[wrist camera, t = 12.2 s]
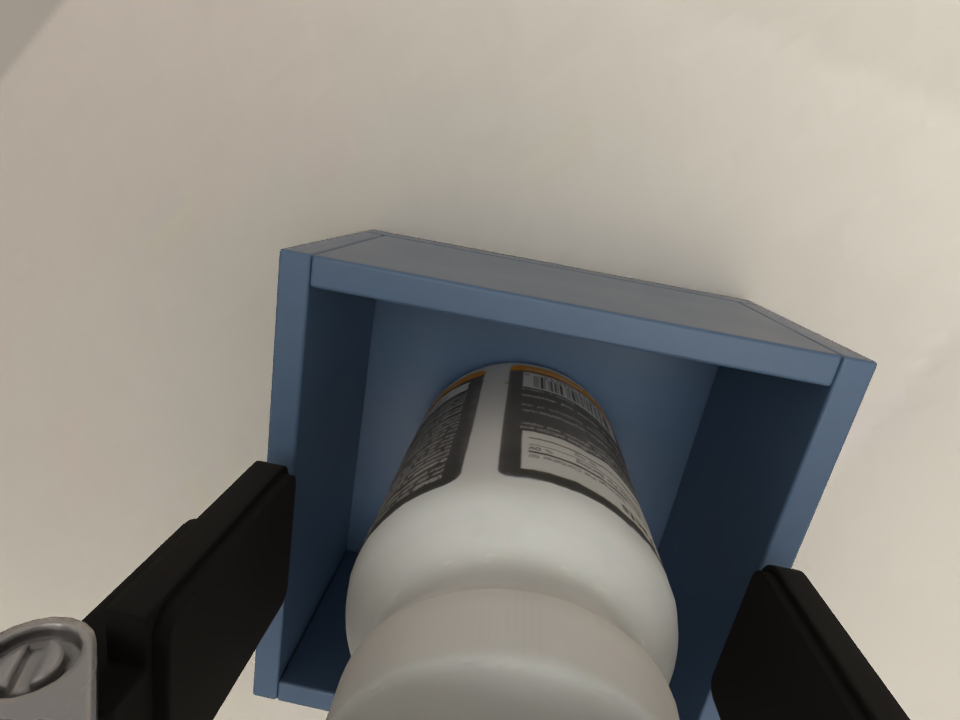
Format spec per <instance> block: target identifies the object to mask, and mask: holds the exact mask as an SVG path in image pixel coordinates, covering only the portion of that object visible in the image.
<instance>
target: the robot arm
mask: <svg viewBox="0 0 960 720" xmlns="http://www.w3.org/2000/svg"><path fill="white" fill-rule="evenodd" d="M295 490H296V477H295V476H294V475H289V471H288V468H287V467H286V466H283V465H278V464H273V463H268V462H263V461H256V462H255V463H254V464H253V465H252V466H250V467H249V468H248V469H247V470H246V471H245V472H244V473H243V474H242V475H241V476H240V477H239V478H238V479H237V480H236V481H235V482H234V483H233V484H232V485H231V486H230V487H229V488H228V489H227V490H226V491H225V492H224V493H223V494H222V495H221V496H220V497H219V498H218V499H217V500H216V501H215V502H214V503H213V504H211V505H210V506H209V507H208V508H207V509H206V510H205V511H204V512H203V513H202V514H201V515H200V516H199V517H198V518H197V519H192V520H189V521H187V522H186V523H185V524H183V525H182V526H181V527H180V528H179V529H178V530H177V531H176V532H175V533H174V534H173V535H171V536H170V537H169V538H168V539H167V540H166V541H165V542H164V543H163V544H162V545H161V546H160V547H159V548H158V549H157V550H156V551H155V552H154V553H153V554H152V555H150V556H149V557H148V558H147V559H146V560H145V561H144V562H143V563H142V564H141V565H140V566H139V567H138V568H137V569H136V570H135V571H134V572H133V573H132V574H131V575H129V576H128V577H127V578H126V579H125V580H124V581H123V582H122V583H121V584H120V585H119V586H118V587H117V588H116V589H115V590H114V591H113V592H112V593H111V594H110V595H108V596H107V597H106V598H105V599H104V600H103V601H102V602H101V603H100V604H99V605H98V606H97V607H96V608H95V609H94V610H93V611H92V612H91V613H90V614H88V615H87V616H86V617H85V618H84V619H83V620H82V621H80V620H77V619H74V618H67V617H50V618H43V619H36V620H32V621H29V622H26V623H23V624H20V625H16V626H13V627H11V628H9V629H7V630H5V631H3V632H1V633H0V720H213V719H214V717H215V716H216V714H217V712H218V711H219V709H220V707H221V706H222V704H223V702H224V701H225V699H226V697H227V696H228V694H229V692H230V691H231V689H232V687H233V686H234V684H235V682H236V681H237V679H238V677H239V676H240V674H241V672H242V671H243V669H244V667H245V666H246V664H247V662H248V661H249V659H250V657H251V656H252V654H253V653H254V651H255V649H256V648H257V646H258V644H259V643H260V641H261V639H262V638H263V636H264V634H265V633H266V631H267V629H268V628H269V626H270V624H271V623H272V621H273V619H274V618H275V616H276V614H277V613H278V611H279V609H280V608H281V606H282V604H283V602H284V599H285V596H286V593H287V588H288V578H289V566H290V553H291V541H292V528H293V516H294V503H295ZM711 693H712V697H713V701H714V703H715V706H716V709H717V712H718V714H719V717H720V720H910V719H909V717H908V716H907V715H906V713H905V712H904V711H903V709H902V708H901V706H900V705H899V704H898V702H897V701H896V700H895V698H894V697H893V695H892V694H891V693H890V691H889V690H888V688H887V687H886V686H885V684H884V683H883V682H882V680H881V679H880V677H879V676H878V675H877V673H876V672H875V671H874V669H873V668H872V666H871V665H870V664H869V662H868V661H867V659H866V658H865V657H864V655H863V654H862V653H861V651H860V650H859V648H858V647H857V646H856V644H855V643H854V642H853V640H852V639H851V637H850V636H849V635H848V633H847V632H846V630H845V629H844V628H843V626H842V625H841V624H840V622H839V621H838V619H837V618H836V617H835V615H834V614H833V613H832V611H831V610H830V608H829V607H828V606H827V604H826V603H825V601H824V600H823V599H822V597H821V596H820V595H819V593H818V592H817V590H816V589H815V588H814V586H813V585H812V584H811V582H810V581H809V579H808V578H807V577H806V575H805V574H804V573H803V572H801V571H799V570H795V569H790V568H785V567H780V566H775V565H766V566H765V567H764V568H763V569H762V571H761V570H757V571H755V572H754V573H753V575H752V577H751V580H750V582H749V585H748V587H747V590H746V592H745V595H744V597H743V600H742V602H741V605H740V607H739V610H738V612H737V615H736V617H735V620H734V622H733V625H732V627H731V630H730V632H729V635H728V637H727V640H726V642H725V645H724V647H723V650H722V652H721V655H720V657H719V660H718V662H717V665H716V667H715V670H714V672H713V675H712V679H711Z"/></svg>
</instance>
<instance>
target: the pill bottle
mask: <svg viewBox="0 0 960 720" xmlns="http://www.w3.org/2000/svg"><path fill="white" fill-rule="evenodd" d="M346 634H347V641H348V646H349V650H350V654H351V658H350V660H349V662H348V663H347V665H346V667H345V669H344V671H343V674H342V676H341V679H340V681H339V684H338V687H337V690H336V693H335V696H334V698H333V701H332V704H331V707H330V710H329V713H328V716H327V719H326V720H680V719H679V715H678V710H677V706H676V702H675V700H674V698H673V695H672V693H671V690H670V688H669V683H670V681H671V678H672V675H673V671H674V667H675V662H676V657H677V650H678V620H677V608H676V602H675V598H674V595H673V593H672V589H671V586H670V584H669V581H668V579H667V575H666V573H665V570H664V567H663V565H662V562H661V559H660V556H659V554H658V552H657V549H656V547H655V544H654V542H653V539H652V536H651V533H650V531H649V528H648V525H647V523H646V520H645V518H644V515H643V513H642V510H641V508H640V505H639V502H638V499H637V495H636V492H635V490H634V487H633V484H632V481H631V477H630V474H629V471H628V468H627V466H626V463H625V461H624V458H623V456H622V453H621V450H620V448H619V445H618V443H617V440H616V437H615V434H614V432H613V429H612V427H611V425H610V423H609V420H608V419H607V417H606V415H605V413H604V411H603V410H602V408H601V407H600V406H599V404H598V403H597V402H596V400H595V399H594V398H593V397H592V396H591V395H590V394H589V393H588V392H587V391H586V390H585V389H584V388H583V387H582V386H580V385H579V384H578V383H576V382H575V381H573V380H572V379H570V378H569V377H567V376H565V375H563V374H561V373H559V372H557V371H554V370H552V369H549V368H546V367H542V366H537V365H532V364H527V363H510V362H509V363H501V364H494V365H490V366H485V367H483V368H480V369H477V370H474V371H472V372H470V373H468V374H466V375H463V376H462V377H460V378H459V379H458V380H456V381H455V382H454V383H452V384H451V385H449V386H448V387H447V388H446V389H445V390H444V391H442V393H441V394H440V395H439V396H438V397H437V398H436V399H435V401H434V402H433V404H432V405H431V407H430V408H429V410H428V412H427V414H426V415H425V417H424V419H423V421H422V422H421V424H420V426H419V428H418V430H417V432H416V434H415V436H414V439H413V440H412V442H411V444H410V446H409V448H408V450H407V452H406V454H405V457H404V458H403V460H402V462H401V464H400V467H399V469H398V471H397V472H396V475H395V477H394V480H393V481H392V484H391V486H390V489H389V491H388V493H387V495H386V497H385V499H384V501H383V503H382V505H381V507H380V509H379V511H378V513H377V515H376V518H375V520H374V522H373V524H372V525H371V527H370V529H369V532H368V534H367V536H366V538H365V540H364V542H363V545H362V547H361V549H360V551H359V553H358V555H357V557H356V560H355V563H354V566H353V568H352V571H351V574H350V580H349V586H348V592H347V599H346Z"/></svg>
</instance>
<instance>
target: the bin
mask: <svg viewBox="0 0 960 720" xmlns="http://www.w3.org/2000/svg"><path fill="white" fill-rule="evenodd" d="M509 362H510V363H527V364H532V365H537V366H542V367H546V368H549V369H552V370H554V371H557V372H559V373H561V374H563V375H565V376H567V377H569V378H570V379H572V380H573V381H575V382H576V383H578V384H579V385H580V386H582V387H583V388H584V389H585V390H586V391H587V392H588V393H589V394H590V395H591V396H592V397H593V398H594V399H595V400H596V402H597V403H598V404H599V406H600V407H601V408H602V410H603V411H604V413H605V415H606V417H607V419H608V420H609V423H610V425H611V427H612V429H613V432H614V434H615V437H616V440H617V443H618V445H619V448H620V450H621V453H622V456H623V458H624V461H625V463H626V466H627V468H628V471H629V474H630V477H631V481H632V484H633V487H634V490H635V492H636V495H637V499H638V502H639V505H640V508H641V510H642V513H643V515H644V518H645V520H646V523H647V525H648V528H649V531H650V533H651V536H652V539H653V542H654V544H655V547H656V549H657V552H658V554H659V556H660V559H661V562H662V565H663V567H664V570H665V573H666V575H667V579H668V581H669V584H670V586H671V589H672V593H673V595H674V598H675V602H676V608H677V620H678V650H677V657H676V662H675V667H674V671H673V675H672V678H671V681H670V683H669V688H670V690H671V693H672V695H673V698H674V700H675V702H676V706H677V710H678V715H679V719H680V720H720V717H719V714H718V712H717V709H716V706H715V703H714V701H713V697H712V693H711V679H712V675H713V672H714V670H715V667H716V665H717V662H718V660H719V657H720V655H721V652H722V650H723V647H724V645H725V642H726V640H727V637H728V635H729V632H730V630H731V627H732V625H733V622H734V620H735V617H736V615H737V612H738V610H739V607H740V605H741V602H742V600H743V597H744V595H745V592H746V590H747V587H748V585H749V582H750V580H751V577H752V575H753V573H754V572H755V571H757V570H761V571H762V569H763V568H764V567H765V566H766V565H775V566H780V567H785V568H790V569H791V567H792V565H793V562H794V560H795V558H796V555H797V553H798V551H799V548H800V546H801V544H802V541H803V539H804V536H805V534H806V532H807V529H808V527H809V525H810V522H811V520H812V517H813V515H814V513H815V510H816V508H817V506H818V503H819V501H820V499H821V496H822V494H823V491H824V489H825V487H826V484H827V482H828V480H829V477H830V475H831V473H832V470H833V468H834V465H835V463H836V461H837V458H838V456H839V454H840V451H841V449H842V446H843V444H844V442H845V439H846V437H847V435H848V432H849V430H850V428H851V425H852V423H853V420H854V418H855V416H856V413H857V411H858V409H859V406H860V404H861V402H862V399H863V397H864V394H865V392H866V390H867V387H868V385H869V383H870V380H871V378H872V375H873V373H874V371H875V368H876V366H877V363H876V362H874V361H872V360H870V359H868V358H866V357H864V356H862V355H860V354H858V353H856V352H854V351H852V350H850V349H848V348H846V347H844V346H841V345H839V344H837V343H835V342H833V341H831V340H829V339H827V338H825V337H823V336H821V335H819V334H817V333H815V332H813V331H811V330H809V329H806V328H804V327H802V326H800V325H798V324H796V323H794V322H792V321H790V320H788V319H786V318H784V317H782V316H780V315H778V314H776V313H774V312H771V311H769V310H767V309H765V308H763V307H761V306H758V305H756V304H754V303H752V302H750V301H748V300H743V299H738V298H733V297H727V296H722V295H717V294H711V293H706V292H701V291H695V290H690V289H685V288H679V287H674V286H669V285H663V284H658V283H653V282H648V281H642V280H637V279H632V278H626V277H621V276H616V275H610V274H605V273H600V272H594V271H589V270H584V269H578V268H573V267H568V266H563V265H557V264H552V263H547V262H541V261H536V260H531V259H525V258H520V257H515V256H509V255H504V254H499V253H493V252H488V251H483V250H477V249H472V248H467V247H462V246H456V245H451V244H446V243H440V242H435V241H430V240H424V239H419V238H414V237H408V236H403V235H398V234H392V233H387V232H382V231H377V230H369V231H365V232H364V231H363V232H359V233H354V234H350V235H345V236H340V237H336V238H331V239H327V240H322V241H317V242H313V243H308V244H303V245H299V246H294V247H290V248H285V249H281V251H280V258H279V275H278V292H277V308H276V325H275V341H274V358H273V374H272V391H271V407H270V424H269V441H268V457H267V462H268V463H273V464H278V465H283V466H286V467H287V468H288V471H289V475H294V476H295V477H296V490H295V503H294V516H293V528H292V541H291V553H290V566H289V578H288V588H287V593H286V596H285V599H284V602H283V604H282V606H281V608H280V609H279V611H278V613H277V614H276V616H275V618H274V619H273V621H272V623H271V624H270V626H269V628H268V629H267V631H266V633H265V634H264V636H263V638H262V639H261V641H260V643H259V644H258V646H257V648H256V656H255V672H254V689H253V693H254V695H258V696H262V697H267V698H271V699H276V698H277V697H278V700H281V701H285V702H290V703H294V704H299V705H303V706H308V707H312V708H317V709H321V710H326V711H329V710H330V707H331V704H332V701H333V698H334V696H335V693H336V690H337V687H338V684H339V681H340V679H341V676H342V674H343V671H344V669H345V667H346V665H347V663H348V662H349V660H350V658H351V654H350V650H349V646H348V641H347V634H346V599H347V592H348V586H349V580H350V574H351V571H352V568H353V566H354V563H355V560H356V557H357V555H358V553H359V551H360V549H361V547H362V545H363V542H364V540H365V538H366V536H367V534H368V532H369V529H370V527H371V525H372V524H373V522H374V520H375V518H376V515H377V513H378V511H379V509H380V507H381V505H382V503H383V501H384V499H385V497H386V495H387V493H388V491H389V489H390V486H391V484H392V481H393V480H394V477H395V475H396V472H397V471H398V469H399V467H400V464H401V462H402V460H403V458H404V457H405V454H406V452H407V450H408V448H409V446H410V444H411V442H412V440H413V439H414V436H415V434H416V432H417V430H418V428H419V426H420V424H421V422H422V421H423V419H424V417H425V415H426V414H427V412H428V410H429V408H430V407H431V405H432V404H433V402H434V401H435V399H436V398H437V397H438V396H439V395H440V394H441V393H442V391H444V390H445V389H446V388H447V387H448V386H449V385H451V384H452V383H454V382H455V381H456V380H458V379H459V378H460V377H462V376H463V375H466V374H468V373H470V372H472V371H474V370H477V369H480V368H483V367H485V366H490V365H494V364H501V363H509Z"/></svg>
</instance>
